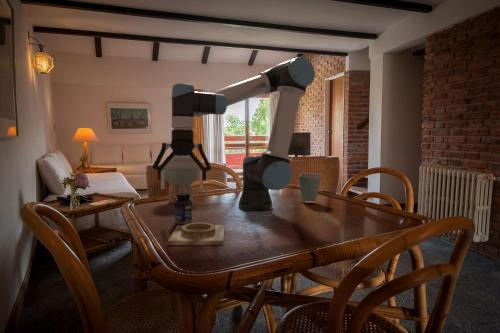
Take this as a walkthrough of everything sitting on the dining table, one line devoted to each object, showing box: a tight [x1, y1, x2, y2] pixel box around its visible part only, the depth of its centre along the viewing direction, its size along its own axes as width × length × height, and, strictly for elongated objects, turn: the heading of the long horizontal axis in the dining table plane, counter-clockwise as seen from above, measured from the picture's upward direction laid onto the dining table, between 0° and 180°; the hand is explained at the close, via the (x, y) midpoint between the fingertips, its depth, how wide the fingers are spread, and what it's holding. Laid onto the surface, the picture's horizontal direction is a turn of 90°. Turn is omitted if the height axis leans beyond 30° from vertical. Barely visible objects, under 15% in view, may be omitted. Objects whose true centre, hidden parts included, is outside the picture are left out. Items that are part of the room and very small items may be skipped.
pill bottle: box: [174, 192, 193, 227], centre depth 112 cm, size 6×6×11 cm
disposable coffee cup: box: [298, 172, 322, 202], centre depth 152 cm, size 11×11×15 cm
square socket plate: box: [167, 221, 226, 246], centre depth 99 cm, size 16×16×3 cm
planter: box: [163, 154, 199, 204], centre depth 150 cm, size 16×16×22 cm
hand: (182, 189), depth 111 cm, fingers open, 13 cm apart
